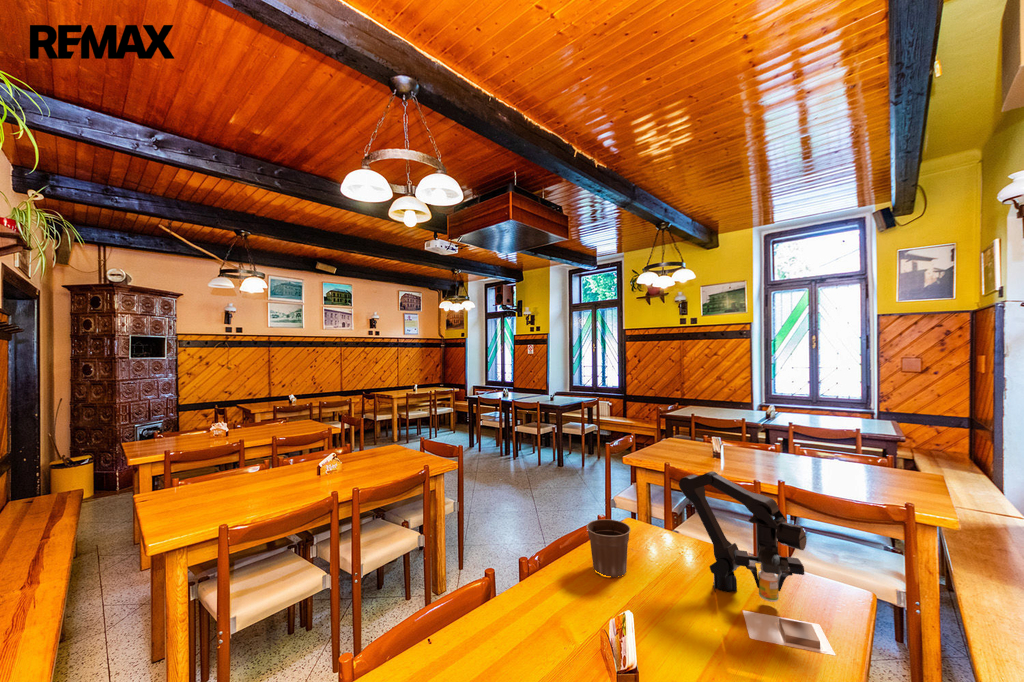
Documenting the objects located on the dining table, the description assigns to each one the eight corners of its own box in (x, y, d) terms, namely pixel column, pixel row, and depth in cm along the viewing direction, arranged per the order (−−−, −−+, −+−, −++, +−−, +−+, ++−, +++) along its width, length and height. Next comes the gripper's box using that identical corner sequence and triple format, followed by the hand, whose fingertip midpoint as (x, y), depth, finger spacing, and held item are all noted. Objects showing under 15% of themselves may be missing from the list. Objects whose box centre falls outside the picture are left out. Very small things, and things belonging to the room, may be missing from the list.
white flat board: (749, 641, 119) (749, 637, 119) (742, 612, 132) (742, 610, 132) (836, 658, 112) (835, 655, 112) (819, 627, 125) (819, 623, 125)
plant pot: (580, 574, 157) (579, 530, 157) (596, 556, 170) (595, 516, 171) (624, 586, 148) (622, 539, 149) (636, 566, 162) (635, 523, 162)
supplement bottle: (755, 593, 137) (754, 562, 137) (770, 592, 137) (769, 561, 137) (766, 602, 131) (765, 570, 132) (782, 601, 132) (781, 569, 132)
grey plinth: (785, 642, 117) (785, 634, 117) (779, 625, 124) (779, 618, 125) (820, 649, 114) (820, 641, 114) (811, 631, 122) (811, 624, 122)
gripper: (737, 545, 131) (738, 596, 130) (808, 554, 124) (810, 609, 123) (732, 531, 141) (734, 579, 141) (798, 539, 134) (800, 589, 134)
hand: (768, 589), depth 134 cm, fingers closed on supplement bottle, 5 cm apart
